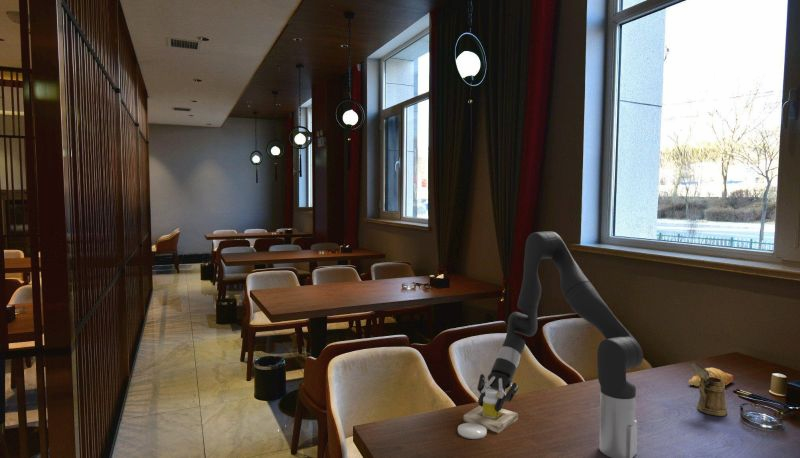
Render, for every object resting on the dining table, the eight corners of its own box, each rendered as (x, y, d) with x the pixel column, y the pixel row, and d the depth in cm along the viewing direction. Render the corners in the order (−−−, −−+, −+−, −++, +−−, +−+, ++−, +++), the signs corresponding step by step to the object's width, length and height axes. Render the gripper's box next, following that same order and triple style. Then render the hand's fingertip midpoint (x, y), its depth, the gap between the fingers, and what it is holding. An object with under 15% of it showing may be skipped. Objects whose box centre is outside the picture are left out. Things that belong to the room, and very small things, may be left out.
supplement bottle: (499, 424, 156) (499, 394, 156) (482, 422, 157) (482, 393, 157) (499, 417, 162) (499, 388, 161) (482, 415, 163) (483, 387, 162)
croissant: (695, 397, 188) (703, 383, 185) (677, 378, 197) (684, 364, 193) (738, 391, 194) (747, 377, 190) (718, 372, 202) (726, 359, 198)
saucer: (492, 431, 151) (492, 428, 151) (476, 441, 145) (476, 438, 145) (467, 423, 157) (467, 420, 157) (452, 432, 150) (452, 429, 150)
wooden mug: (681, 409, 169) (682, 358, 168) (708, 404, 173) (710, 354, 173) (705, 420, 160) (707, 366, 160) (733, 414, 165) (735, 362, 164)
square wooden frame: (518, 419, 160) (518, 413, 160) (498, 432, 150) (498, 426, 150) (484, 408, 169) (484, 403, 169) (463, 420, 159) (463, 414, 159)
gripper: (484, 353, 169) (465, 396, 161) (522, 361, 160) (504, 408, 151) (491, 364, 173) (473, 407, 165) (529, 373, 164) (511, 419, 155)
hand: (488, 407), depth 158 cm, fingers closed on supplement bottle, 5 cm apart
